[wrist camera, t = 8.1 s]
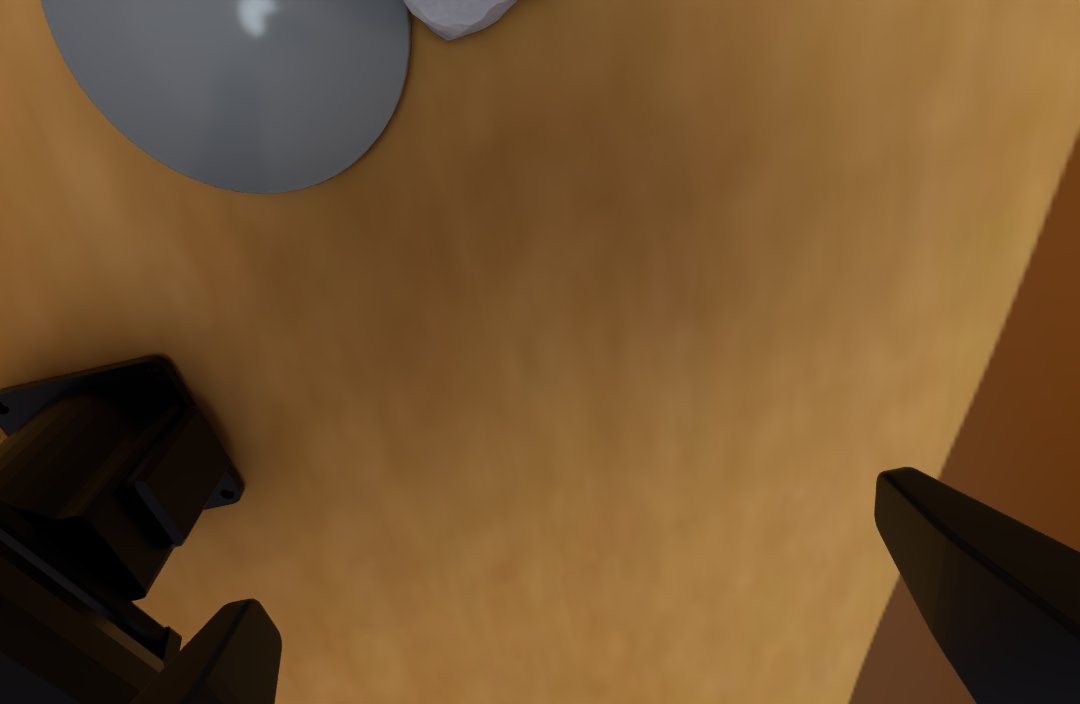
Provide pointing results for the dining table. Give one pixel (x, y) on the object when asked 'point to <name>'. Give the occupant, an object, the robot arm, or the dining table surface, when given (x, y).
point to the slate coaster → (241, 81)
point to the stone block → (458, 15)
